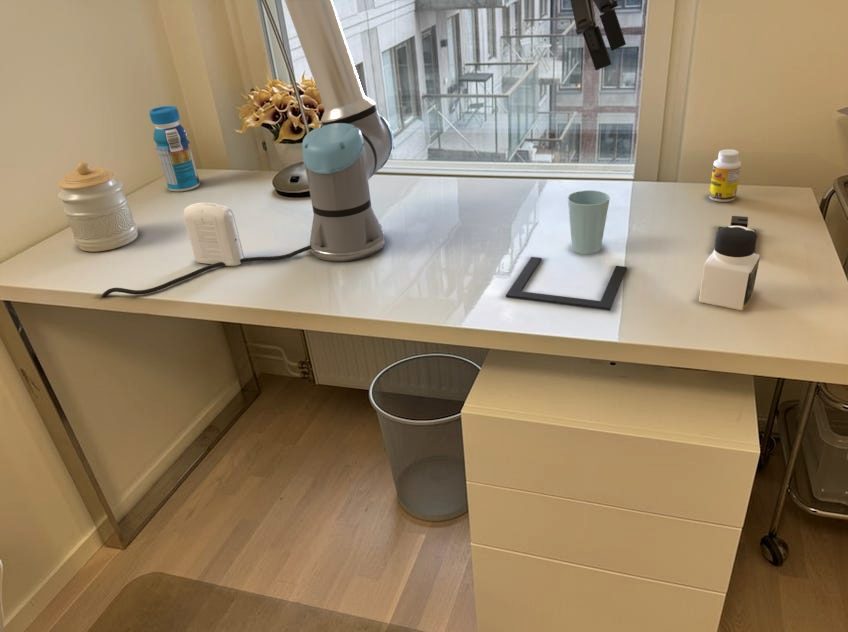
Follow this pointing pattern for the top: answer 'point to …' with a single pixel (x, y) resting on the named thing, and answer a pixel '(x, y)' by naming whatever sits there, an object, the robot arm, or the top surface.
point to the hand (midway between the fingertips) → (611, 57)
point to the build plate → (740, 223)
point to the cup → (587, 220)
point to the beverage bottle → (174, 149)
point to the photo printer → (213, 234)
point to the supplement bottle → (725, 176)
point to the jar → (97, 208)
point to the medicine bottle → (730, 269)
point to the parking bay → (603, 304)
